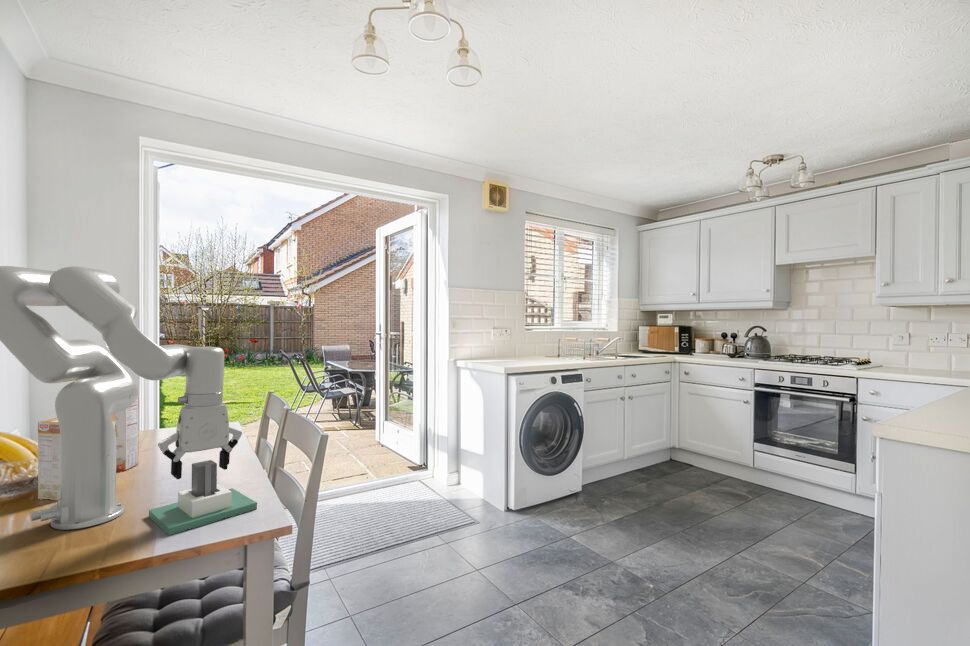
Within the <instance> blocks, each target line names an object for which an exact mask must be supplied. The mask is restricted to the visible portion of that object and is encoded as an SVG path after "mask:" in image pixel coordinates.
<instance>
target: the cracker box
mask: <svg viewBox="0 0 970 646" xmlns="http://www.w3.org/2000/svg"><path fill="white" fill-rule="evenodd" d="M139 401H140V400H139V398H138V397H137V399H136V401H135V402H134V403H133V404H132V405H131V406H130V407H129V408H127V409H125V410H122V411H120V412H117V413H115V432H116V472H125V471H128V470H130V469H132V468H134V467H137V466H138V465H139V431H140V430H139V427H140V426H139V419H140V417H139V416H140V415H139V414H140V413H139V411H140V410H139V409H140V408H139V403H140V402H139Z"/></svg>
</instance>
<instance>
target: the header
mask: <svg viewBox="0 0 970 646" xmlns="http://www.w3.org/2000/svg"><path fill="white" fill-rule="evenodd" d="M228 489H229V488H227V487H225V486H223V485H222V484H220V483H218V482H217V492H215V493H214V495H210V496H207V497H204V496H199V497H195V496H193V495H192V488H189V489H187V488H186V489H185V490H180V491H177V502H178V507H179V508H180V509H181V510H183V511H184V512H185V513H186V514H188V515H189V516H190V517H191V518H194V517H197V516H201V515H204V514H208V513H211V512H215V511H218V510H222V509H225V508H229V507H232V492H231V491H230V490H228Z"/></svg>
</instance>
